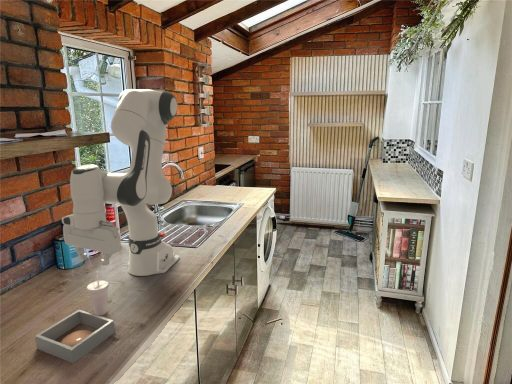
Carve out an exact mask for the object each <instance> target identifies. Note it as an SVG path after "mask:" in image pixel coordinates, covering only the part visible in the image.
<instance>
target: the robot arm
mask: <svg viewBox="0 0 512 384" xmlns="http://www.w3.org/2000/svg"><path fill="white" fill-rule="evenodd" d="M177 112H178V101H177V98H176V97H175V95H174V94H173V93H171V92H168V91H160V90H154V89H134V88H130V89H129V88H128V89H125V90H123V91H122V92H121V93H120V94H119V96H118V103H117V106H116V108H115V111H114V114H113V116H112V118H111V121H110V129H111V133H112V135H113V136H114V137H115V138H116V139H117V140H118V141H119V142H121V143H122V144H124V145H126V146H128V147H130V148H132V154H131V160H130V161H131V162H130V167H129V170H128V171H127V172H125V173H122V172H121V173H120V172H119V173H118V172H108V171H106V170H102V169H100V166H98V165H97V164H90V163H88V164H82V165H79V166H76V167H74V168H73V169H72V170H71V172H70V173H71V174H70V177H69V178H70V179H69V183H70V184H69V188H70V199H71V201H72V203H73V206H72V213H71V214H68V215H65V216H62V217H61V223H62V224H63V226H62V233H63V234H62V235H63V240H64V242H65V244H66V245H67V246H72V247H74V249H75V252H76V253H77V255H78V259H79V261H85V260H87V259H88V257H87V255H88V254H87V252H85V250H84V249H86V250H90V251H94V252H99V253H102V256H104V257H103V258H102V259H100V262H101V263H100V264H101V266H108V265H110V258H111V256H112V255H115V254H117V253H118V252H120V251H121V249H122V241H121V236H120V233H119V230H118V227H117V226H116V225H115V224H114V223H113V222H108V221H107V216H106V215H107V214H106V213H107V212H106V206H105V204H104V203H108V204H118V205H119V206H120V207H121V208H122V210H123V212H124V214H125V217H126V221H127V227H128V240H127V241H128V247H129V250H128V262H127V273H129V274H130V275H132V276H137V277H138V276H139V277H145V276H151V275H157V274H158V275H159V274H165V273H166V272H167V271H168V270H169V269H170V268H172V267H173V265H175V263H176V262H177V261H179V259H180V255H178V254H176V253H174V249H173V247H172V246H171V244H169V243H167V242H165V241H163V240H162V239H165V237H166V233H165V232H159V227H158V217H157V215H156V213H154V212H153V211H152V210H151V209H150V208H149V207H148V205H153V206H155V205H161V204H166V203H168V201H169V200H170V198H171V196H172V192H173V188H172V187H173V186H172V183H171V182H170V180H168V178H167V177H166V175H165V174H164V171H163V165H162V162H163V154H164V149H165V143H166V137H167V125H168V124H169V123H170V121H172V120H173V119H174V118H175V116H176V114H177Z"/></svg>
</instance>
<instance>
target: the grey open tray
mask: <svg viewBox="0 0 512 384" xmlns="http://www.w3.org/2000/svg"><path fill="white" fill-rule="evenodd" d="M79 324H82V325H85V326H88V327H91V328H93V329H96V330H95V331H93V332H91V333H92V334H91V335H89V336H88V337H86V338H85V339H83V340H82V341H81V342H79V343H78V344H76V345H75V346H73V347H70V346H67V345H65V344H62V343H61V342H59V341H56V339H58V338H59V337H61V336H62V335H64V334H66V333H67V332H69V331H70V330H71V329H73V328H75V327H76V326H78V325H79ZM115 332H116V330H115V321H114V320H113V319H110V318H107V317H105V316H102V315H100V316H98V315H95V314H94V313H92V312H88V311H86V310H81V309H77V310H76V311H74V312H73V313H71V314H69V315H68V316H65V317H64V318H63V319H61V320H59V321H57V322H56V323H54V324H52V325H51V326H50V327H47V328H46V329H44V330H43V331H40V332H39V333H38V334H36V335H35V336H34V337H35V338H34V339H35V343H36V348H37V349H38V350H39V351H42V352H43V353H47V354H50V355H51V356H54V357H57V358H59V359H62V360H64V361H66V362H68V363H71V364H75V363H76V362H78V361H79V360H80V359H81V358H83V357H84V356H86V355H87V354H88V353H90V352H91V351H92V350H93V349H95V348H96V347H98V346H99V345H100V344H102V343H103V342H105V340H107V339H108V338H109V337H111V336H112V335H113V334H115Z"/></svg>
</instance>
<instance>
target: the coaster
mask: <svg viewBox="0 0 512 384" xmlns="http://www.w3.org/2000/svg"><path fill="white" fill-rule="evenodd" d="M92 333H93V332H92V331H90V330H85V329H82V330H76V331H74V332H71V333H69V334H67V335H66V336H65V337H63V338H62V340H61V342H60V343H62V344H65V345H67V346H70V347H73V346H75V345H76V344H78V343H79V342H81V341H82V340H83V339H85V338H86V337H88V336H89V335H91V334H92Z"/></svg>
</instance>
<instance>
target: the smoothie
mask: <svg viewBox="0 0 512 384" xmlns="http://www.w3.org/2000/svg"><path fill="white" fill-rule="evenodd" d="M95 275H96V280H95V281H93V282H91V283H89V284H88V285H87V286H86V291H87V293H88V295H89V298H90V301H91V306H92V309H93V314H95V315H98V316H103V315H105V314H106V313H107V312H108V296H109V295H108V293H109V290H108V289H109V287H110V284H109V282H108V280H100V276H99V271H95Z"/></svg>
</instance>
